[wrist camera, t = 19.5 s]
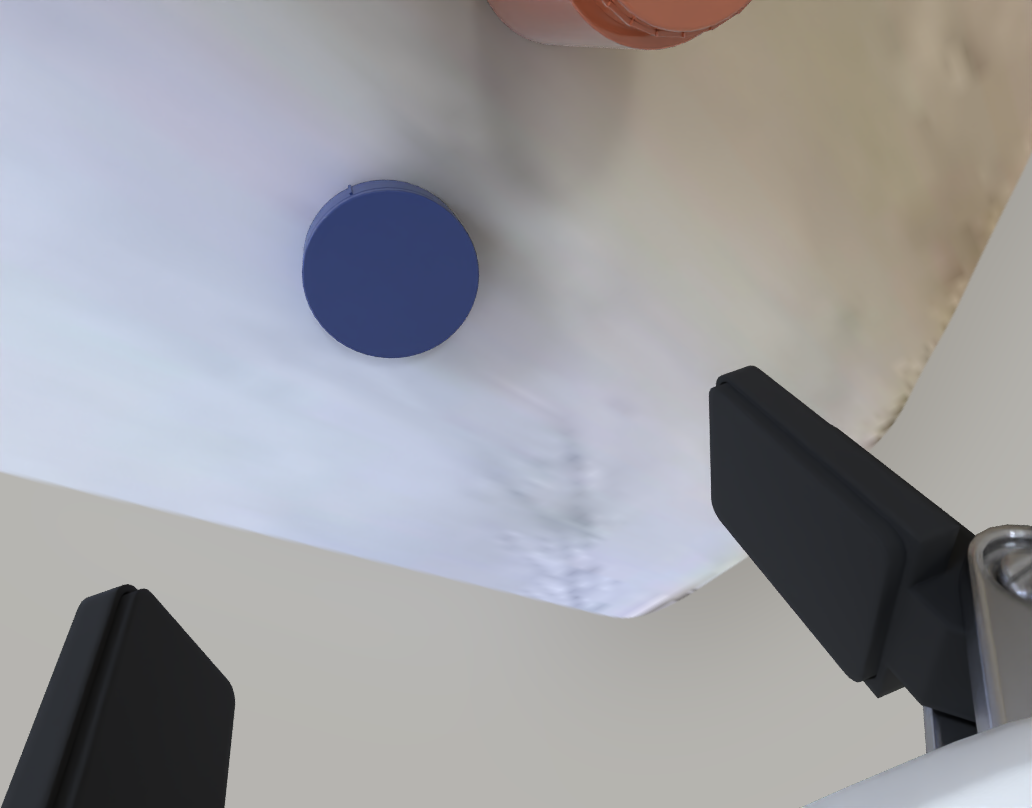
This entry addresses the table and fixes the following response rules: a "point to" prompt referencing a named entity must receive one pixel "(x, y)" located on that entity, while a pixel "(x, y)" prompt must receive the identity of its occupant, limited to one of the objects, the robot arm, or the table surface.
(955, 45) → the table surface
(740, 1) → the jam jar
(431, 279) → the jam lid
